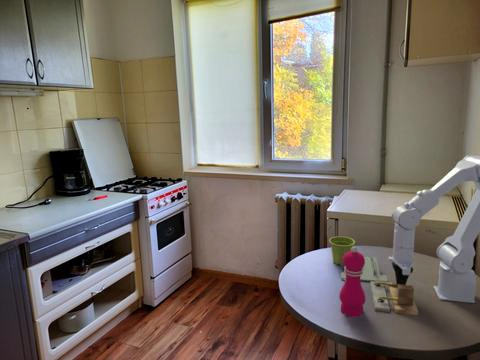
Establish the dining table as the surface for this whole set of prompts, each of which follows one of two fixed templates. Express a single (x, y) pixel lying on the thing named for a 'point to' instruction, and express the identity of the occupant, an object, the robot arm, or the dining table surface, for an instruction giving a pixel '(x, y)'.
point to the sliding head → (402, 295)
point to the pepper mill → (352, 284)
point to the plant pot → (340, 248)
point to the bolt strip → (376, 292)
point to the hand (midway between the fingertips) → (400, 286)
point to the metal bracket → (370, 271)
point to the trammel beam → (397, 307)
